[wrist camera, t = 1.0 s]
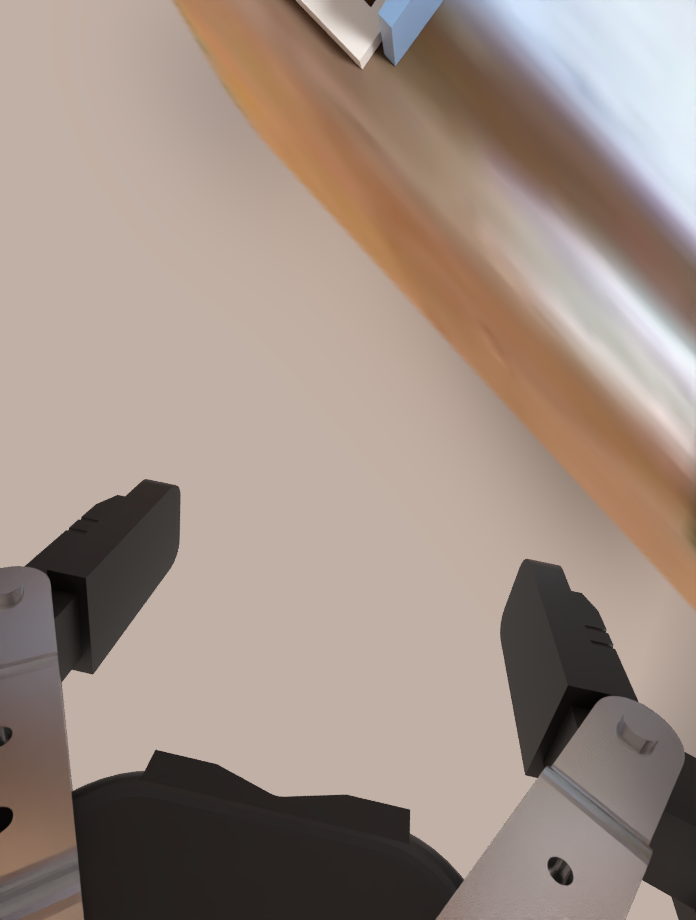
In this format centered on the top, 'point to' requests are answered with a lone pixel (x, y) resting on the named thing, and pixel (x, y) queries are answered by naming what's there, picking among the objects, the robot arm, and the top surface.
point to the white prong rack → (372, 24)
